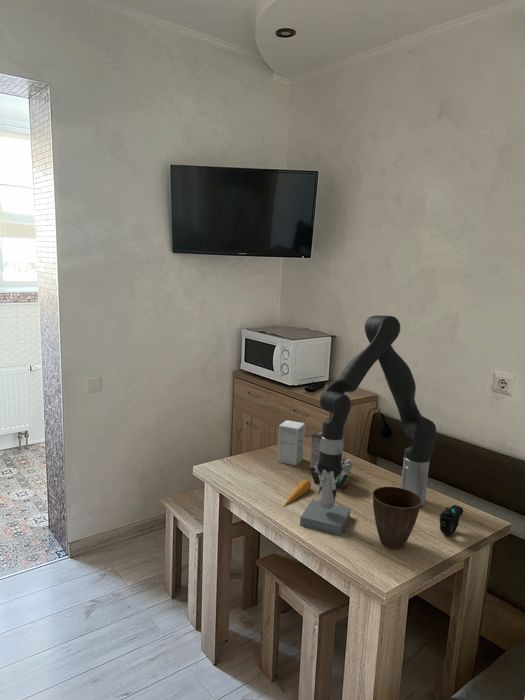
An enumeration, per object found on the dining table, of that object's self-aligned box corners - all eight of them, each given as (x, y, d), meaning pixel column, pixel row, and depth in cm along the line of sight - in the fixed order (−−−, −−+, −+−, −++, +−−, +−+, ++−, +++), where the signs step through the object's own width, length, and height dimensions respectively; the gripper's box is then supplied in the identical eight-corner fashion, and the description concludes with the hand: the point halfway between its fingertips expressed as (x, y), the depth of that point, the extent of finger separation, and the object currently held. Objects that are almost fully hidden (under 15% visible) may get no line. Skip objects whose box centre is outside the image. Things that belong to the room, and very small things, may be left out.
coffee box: (319, 464, 224) (322, 429, 221) (332, 468, 220) (335, 432, 217) (309, 470, 216) (311, 434, 214) (322, 474, 213) (325, 438, 210)
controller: (435, 536, 169) (438, 508, 167) (450, 524, 178) (453, 497, 176) (447, 542, 166) (451, 513, 164) (462, 528, 175) (466, 501, 173)
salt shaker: (324, 511, 170) (327, 474, 168) (314, 503, 175) (317, 468, 173) (338, 508, 173) (341, 472, 171) (328, 500, 178) (331, 465, 176)
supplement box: (303, 459, 229) (306, 423, 226) (296, 466, 220) (299, 428, 217) (283, 454, 232) (286, 419, 229) (276, 461, 224) (278, 424, 221)
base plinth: (349, 516, 179) (350, 508, 178) (340, 535, 166) (341, 526, 166) (311, 507, 184) (312, 499, 183) (299, 525, 171) (300, 516, 171)
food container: (341, 493, 196) (343, 469, 195) (327, 488, 200) (329, 464, 198) (356, 483, 206) (358, 460, 204) (342, 479, 210) (344, 456, 208)
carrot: (304, 489, 201) (300, 478, 200) (314, 488, 198) (310, 477, 198) (279, 513, 184) (275, 502, 184) (289, 512, 182) (285, 501, 181)
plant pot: (358, 538, 165) (362, 492, 162) (389, 526, 173) (394, 482, 171) (394, 561, 153) (399, 512, 150) (425, 547, 162) (431, 500, 159)
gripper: (354, 449, 172) (349, 497, 175) (314, 442, 177) (310, 488, 180) (349, 457, 165) (345, 506, 168) (308, 449, 170) (304, 497, 173)
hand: (327, 497), depth 174 cm, fingers closed on salt shaker, 3 cm apart
